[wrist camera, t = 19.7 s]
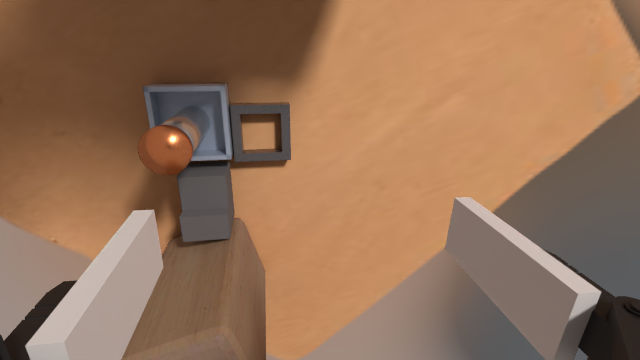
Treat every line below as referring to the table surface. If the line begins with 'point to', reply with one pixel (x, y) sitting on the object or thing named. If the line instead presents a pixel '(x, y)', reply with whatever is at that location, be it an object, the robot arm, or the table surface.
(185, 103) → the tray
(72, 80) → the table surface
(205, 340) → the block
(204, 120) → the pin
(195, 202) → the dark grey stepped piece
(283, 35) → the table surface
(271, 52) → the table surface
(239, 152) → the socket
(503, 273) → the robot arm
